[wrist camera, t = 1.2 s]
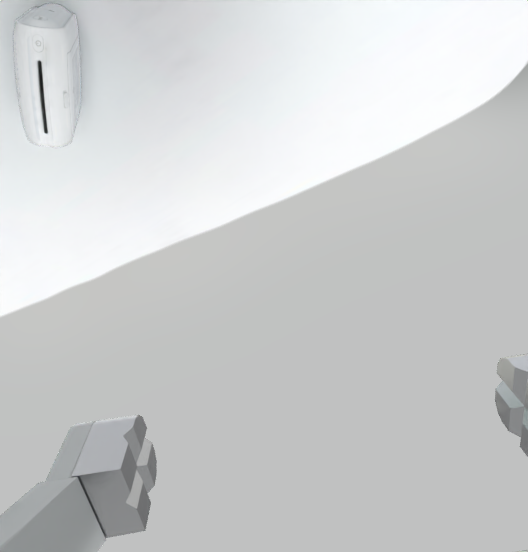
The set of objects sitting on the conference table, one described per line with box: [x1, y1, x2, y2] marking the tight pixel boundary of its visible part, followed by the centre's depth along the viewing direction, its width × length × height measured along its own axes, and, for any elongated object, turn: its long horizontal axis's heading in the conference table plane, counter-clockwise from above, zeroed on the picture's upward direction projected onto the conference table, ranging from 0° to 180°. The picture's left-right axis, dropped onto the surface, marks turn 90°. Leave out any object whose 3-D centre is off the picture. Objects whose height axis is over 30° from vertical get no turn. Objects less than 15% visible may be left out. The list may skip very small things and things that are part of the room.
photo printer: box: [13, 3, 81, 148], centre depth 41 cm, size 10×4×12 cm, turn 169°
